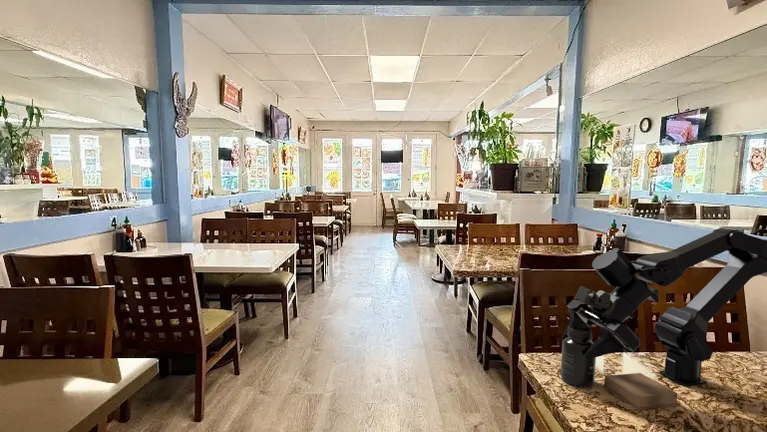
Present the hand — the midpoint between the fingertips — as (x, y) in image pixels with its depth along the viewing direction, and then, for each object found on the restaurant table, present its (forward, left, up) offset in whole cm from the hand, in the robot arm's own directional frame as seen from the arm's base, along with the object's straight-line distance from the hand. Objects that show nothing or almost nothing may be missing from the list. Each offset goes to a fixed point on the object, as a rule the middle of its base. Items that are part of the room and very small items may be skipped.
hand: (573, 349), depth 89 cm
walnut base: (-10, +8, -7) cm, 15 cm away
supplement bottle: (-1, 0, -7) cm, 8 cm away
